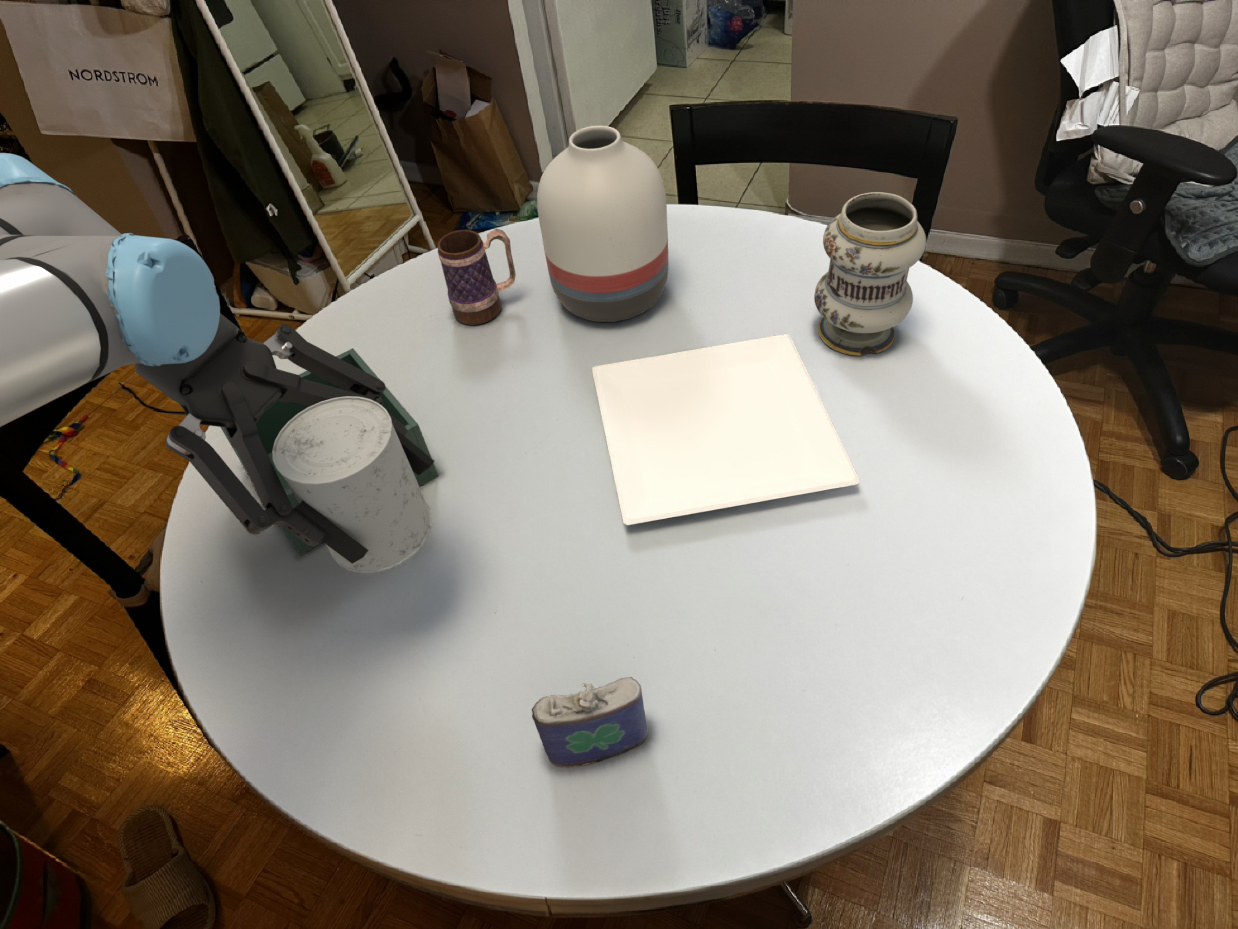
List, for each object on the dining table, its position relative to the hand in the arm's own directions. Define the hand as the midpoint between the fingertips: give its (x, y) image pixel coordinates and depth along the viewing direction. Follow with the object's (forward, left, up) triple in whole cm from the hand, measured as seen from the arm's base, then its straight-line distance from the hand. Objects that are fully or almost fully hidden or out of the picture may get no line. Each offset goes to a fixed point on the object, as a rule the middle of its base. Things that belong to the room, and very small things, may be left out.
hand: (394, 510), depth 68 cm
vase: (+45, +31, -17) cm, 57 cm away
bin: (0, +26, -17) cm, 31 cm away
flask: (+4, -21, -17) cm, 28 cm away
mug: (+30, +41, -17) cm, 53 cm away
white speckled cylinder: (-2, +3, -4) cm, 5 cm away
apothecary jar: (+64, +2, -17) cm, 66 cm away
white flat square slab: (+38, +1, -17) cm, 42 cm away
